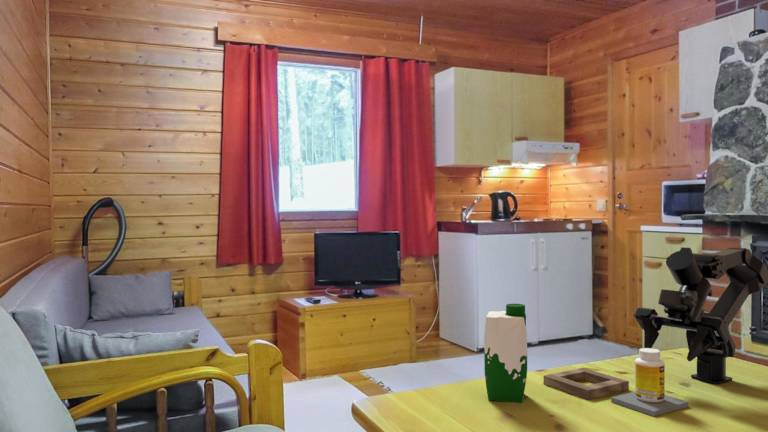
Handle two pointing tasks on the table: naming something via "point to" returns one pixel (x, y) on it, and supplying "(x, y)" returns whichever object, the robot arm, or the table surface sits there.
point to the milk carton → (506, 354)
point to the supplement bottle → (649, 376)
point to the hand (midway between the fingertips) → (666, 355)
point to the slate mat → (650, 404)
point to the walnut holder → (600, 388)
